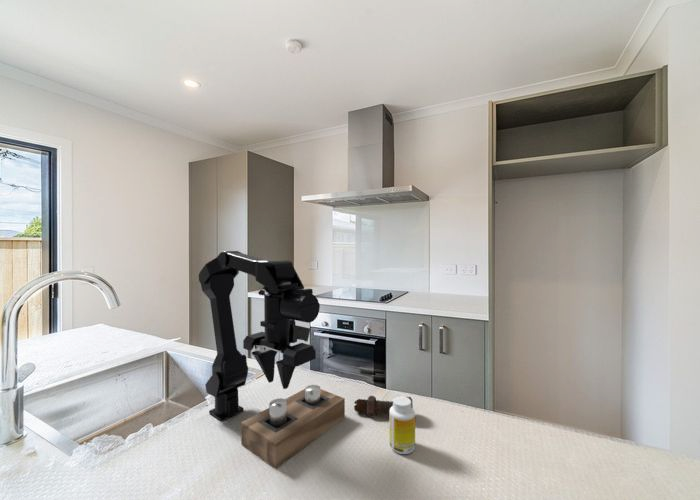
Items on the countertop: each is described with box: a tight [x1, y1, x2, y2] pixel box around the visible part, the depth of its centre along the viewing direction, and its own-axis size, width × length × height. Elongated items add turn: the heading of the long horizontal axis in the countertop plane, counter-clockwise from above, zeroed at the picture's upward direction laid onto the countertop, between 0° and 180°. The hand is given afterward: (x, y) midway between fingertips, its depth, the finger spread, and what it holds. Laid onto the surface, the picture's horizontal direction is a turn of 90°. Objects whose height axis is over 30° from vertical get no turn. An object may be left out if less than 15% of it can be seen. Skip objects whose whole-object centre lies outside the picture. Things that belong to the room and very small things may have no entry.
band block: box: [240, 388, 346, 470], centre depth 71 cm, size 12×22×5 cm, turn 142°
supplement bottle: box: [388, 395, 416, 455], centre depth 64 cm, size 6×6×10 cm
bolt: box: [353, 395, 414, 418], centre depth 77 cm, size 6×5×15 cm
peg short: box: [304, 384, 321, 406], centre depth 75 cm, size 4×4×5 cm
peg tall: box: [268, 398, 287, 429], centre depth 66 cm, size 4×4×5 cm
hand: (278, 385), depth 66 cm, fingers open, 5 cm apart
